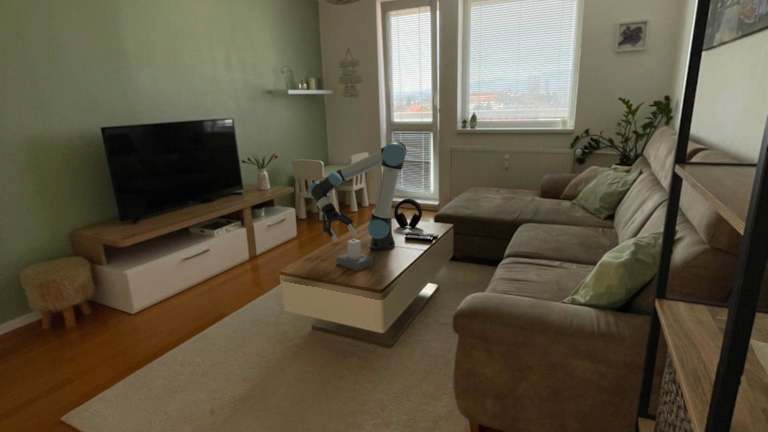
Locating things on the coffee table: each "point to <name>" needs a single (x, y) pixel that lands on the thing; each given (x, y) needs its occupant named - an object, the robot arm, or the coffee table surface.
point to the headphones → (401, 217)
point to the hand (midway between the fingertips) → (345, 237)
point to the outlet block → (355, 262)
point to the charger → (354, 249)
